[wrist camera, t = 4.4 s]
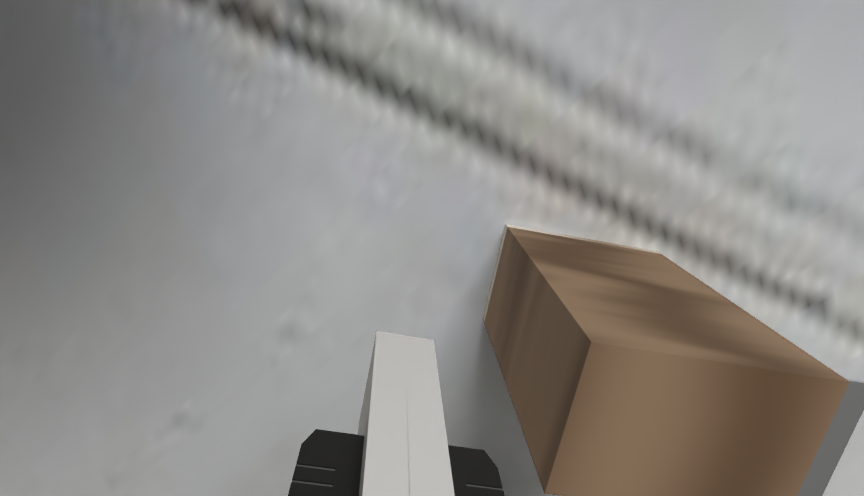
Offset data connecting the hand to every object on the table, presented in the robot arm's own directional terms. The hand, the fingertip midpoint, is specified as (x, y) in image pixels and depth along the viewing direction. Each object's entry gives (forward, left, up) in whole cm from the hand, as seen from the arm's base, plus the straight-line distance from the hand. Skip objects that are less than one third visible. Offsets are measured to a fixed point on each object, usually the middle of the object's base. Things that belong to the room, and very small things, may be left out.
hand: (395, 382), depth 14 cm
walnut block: (+8, 0, -10) cm, 13 cm away
